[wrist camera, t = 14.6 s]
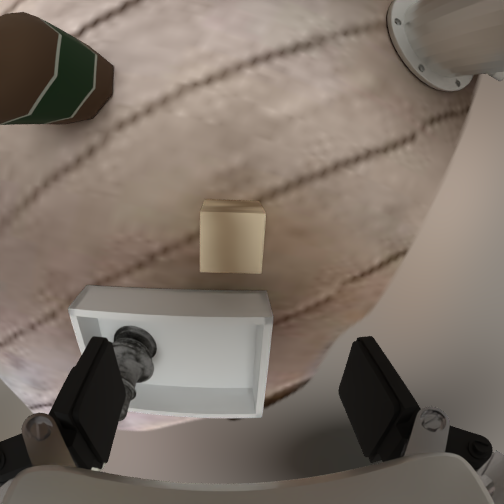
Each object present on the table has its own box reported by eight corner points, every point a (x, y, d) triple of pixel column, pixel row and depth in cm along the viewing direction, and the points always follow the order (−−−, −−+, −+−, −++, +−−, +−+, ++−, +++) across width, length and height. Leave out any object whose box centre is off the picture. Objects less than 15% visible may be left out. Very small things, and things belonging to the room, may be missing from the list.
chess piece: (117, 315, 30) (79, 393, 19) (166, 336, 31) (146, 421, 20) (107, 350, 31) (74, 425, 20) (151, 369, 33) (131, 449, 22)
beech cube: (259, 200, 27) (266, 213, 23) (255, 251, 29) (261, 273, 25) (204, 199, 27) (200, 211, 22) (204, 250, 29) (199, 272, 24)
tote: (266, 290, 31) (273, 317, 26) (258, 388, 36) (262, 417, 31) (86, 285, 29) (67, 308, 24) (111, 380, 34) (102, 407, 29)
